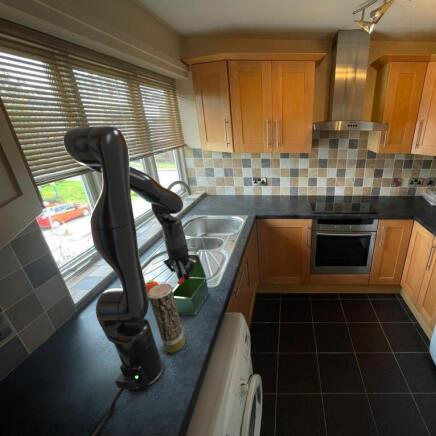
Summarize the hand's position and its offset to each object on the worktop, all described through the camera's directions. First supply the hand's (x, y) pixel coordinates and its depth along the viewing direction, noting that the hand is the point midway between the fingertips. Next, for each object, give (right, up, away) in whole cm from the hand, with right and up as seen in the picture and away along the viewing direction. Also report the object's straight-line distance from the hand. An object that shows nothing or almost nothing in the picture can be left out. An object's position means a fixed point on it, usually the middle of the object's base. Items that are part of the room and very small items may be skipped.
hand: (184, 279), depth 100 cm
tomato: (-20, -10, +12) cm, 26 cm away
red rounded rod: (0, 0, 0) cm, 0 cm away
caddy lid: (+1, +5, +4) cm, 6 cm away
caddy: (0, -12, +6) cm, 14 cm away
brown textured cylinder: (+3, -21, -14) cm, 25 cm away
